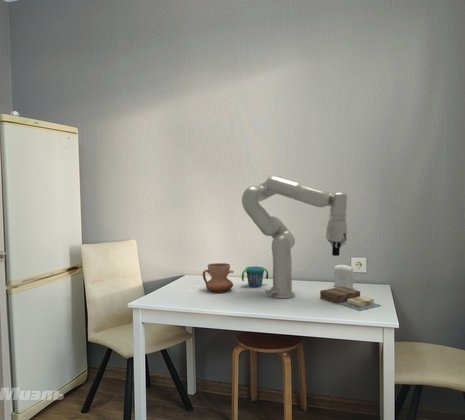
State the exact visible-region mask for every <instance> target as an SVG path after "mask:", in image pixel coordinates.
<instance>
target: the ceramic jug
mask: <svg viewBox="0 0 465 420" xmlns="http://www.w3.org/2000/svg"><path fill="white" fill-rule="evenodd" d="M230 268H231V264H230V263H227V262H222V263H219V262H218V263H217V262H214V263H208V264H207V269H204V270H203V271H202V279H203V281H204V283H205V287H206V289H207V290H209V291H210V292H215V293H223V292H224V293H225V292H227V291H230V290H231V289H232V288H234V287H233V286H234V283H233V281H232V280H230V279H229V278H227V277H228V276H229V274H230V273H231V274H233V273H234V272H235V271H234V270H233V269H230ZM206 273H208V274H209V275H210V277H211V278H210V279H209V280H208V281H207V278H206Z"/></svg>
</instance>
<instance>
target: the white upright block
mask: <svg viewBox="0 0 465 420" xmlns="http://www.w3.org/2000/svg"><path fill="white" fill-rule="evenodd" d="M333 276H334V283H333V285H334V288H337V287H346V288H350V289H354V287H353V286H354V268H353V267H352V266H350V265H345V264H337V265H335V266H334V275H333Z"/></svg>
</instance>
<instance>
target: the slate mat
mask: <svg viewBox="0 0 465 420" xmlns="http://www.w3.org/2000/svg"><path fill="white" fill-rule="evenodd" d="M338 305H341V306H344V307H346V308H350V309H353V310H356V311H365V310H369V309H374V308H377V307H378V308H379V307H381V306H382V305H381V304H378V303H376V302H374V304H373V305H369V306H365V307H360V308H358V307H354V306H351V305H348V304H347V302H343V303H339V304H338Z"/></svg>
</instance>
